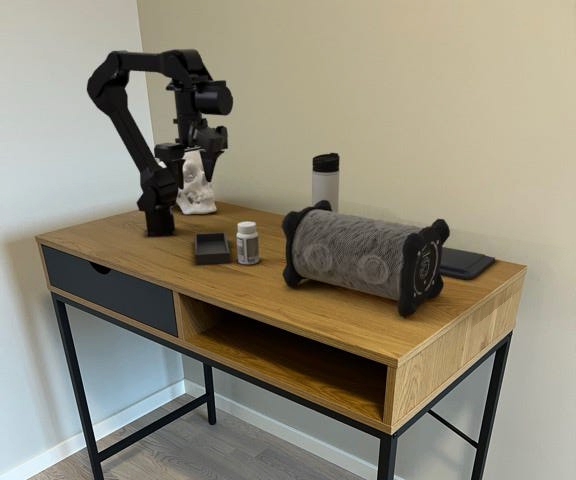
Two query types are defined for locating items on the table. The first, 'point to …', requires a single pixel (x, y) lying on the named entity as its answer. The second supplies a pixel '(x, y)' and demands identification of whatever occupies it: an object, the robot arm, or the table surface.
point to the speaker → (365, 254)
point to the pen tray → (211, 248)
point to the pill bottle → (247, 243)
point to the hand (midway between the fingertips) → (195, 185)
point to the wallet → (463, 263)
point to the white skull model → (194, 187)
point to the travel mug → (326, 179)
